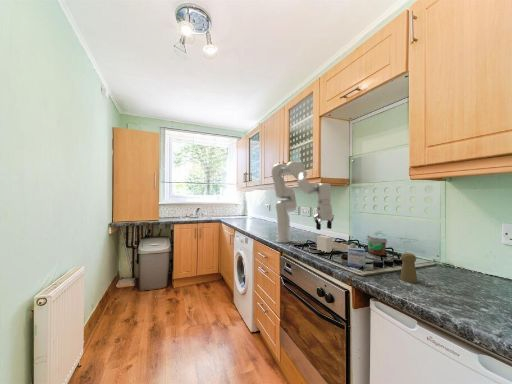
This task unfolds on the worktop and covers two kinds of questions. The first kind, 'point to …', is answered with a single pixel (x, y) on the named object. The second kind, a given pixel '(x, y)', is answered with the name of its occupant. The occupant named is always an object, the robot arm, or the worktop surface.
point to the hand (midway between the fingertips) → (323, 229)
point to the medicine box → (356, 257)
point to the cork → (408, 268)
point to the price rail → (340, 246)
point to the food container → (376, 246)
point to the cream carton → (324, 243)
